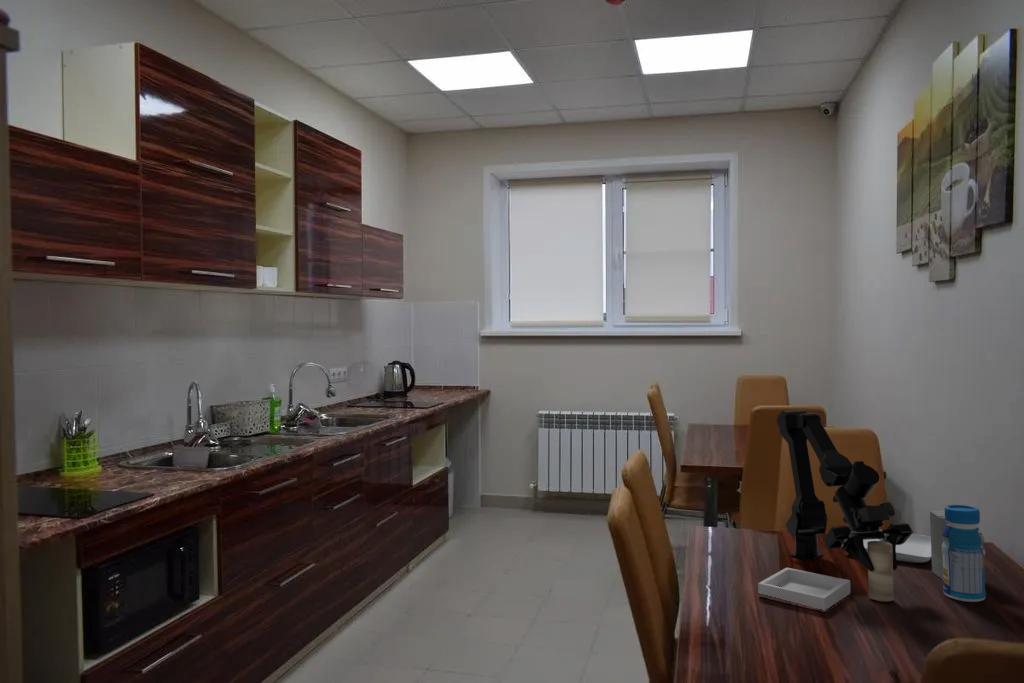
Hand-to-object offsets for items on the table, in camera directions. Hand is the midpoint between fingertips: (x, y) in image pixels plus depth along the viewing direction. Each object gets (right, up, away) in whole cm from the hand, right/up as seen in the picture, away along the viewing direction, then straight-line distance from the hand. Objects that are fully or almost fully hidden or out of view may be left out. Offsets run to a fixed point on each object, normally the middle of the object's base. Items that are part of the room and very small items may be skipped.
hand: (884, 570), depth 162 cm
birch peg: (0, -7, +1) cm, 7 cm away
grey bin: (-15, -8, +5) cm, 18 cm away
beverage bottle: (+19, -7, +2) cm, 20 cm away
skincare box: (+25, -7, +15) cm, 30 cm away
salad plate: (+21, -7, +37) cm, 43 cm away
